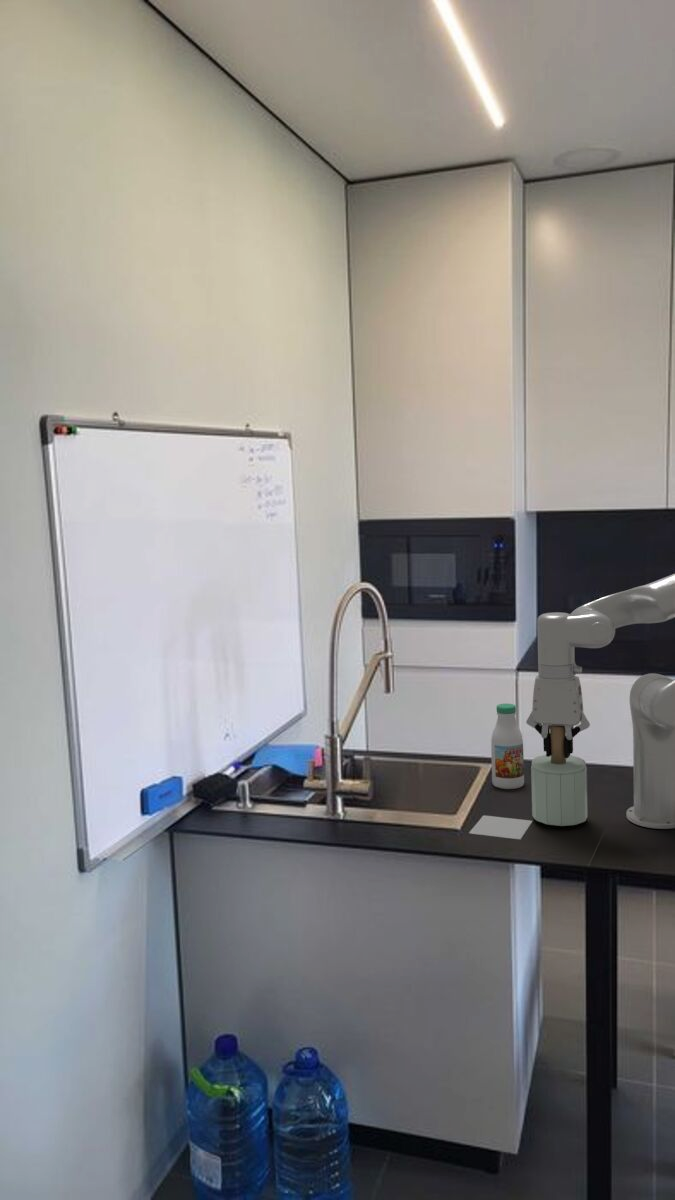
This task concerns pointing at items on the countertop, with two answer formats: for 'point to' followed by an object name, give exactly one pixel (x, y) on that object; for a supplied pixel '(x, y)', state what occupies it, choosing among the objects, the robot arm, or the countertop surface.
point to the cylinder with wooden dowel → (559, 784)
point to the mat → (501, 827)
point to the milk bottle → (507, 750)
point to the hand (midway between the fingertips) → (558, 754)
